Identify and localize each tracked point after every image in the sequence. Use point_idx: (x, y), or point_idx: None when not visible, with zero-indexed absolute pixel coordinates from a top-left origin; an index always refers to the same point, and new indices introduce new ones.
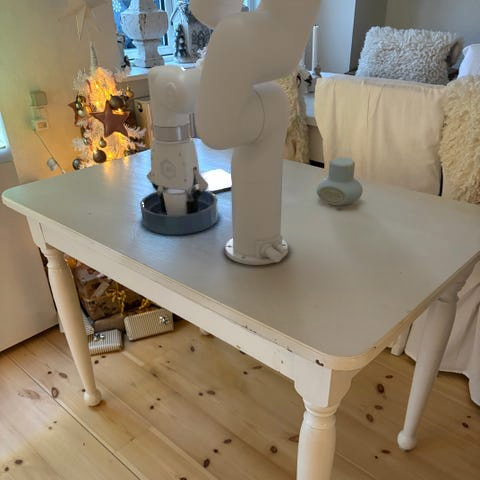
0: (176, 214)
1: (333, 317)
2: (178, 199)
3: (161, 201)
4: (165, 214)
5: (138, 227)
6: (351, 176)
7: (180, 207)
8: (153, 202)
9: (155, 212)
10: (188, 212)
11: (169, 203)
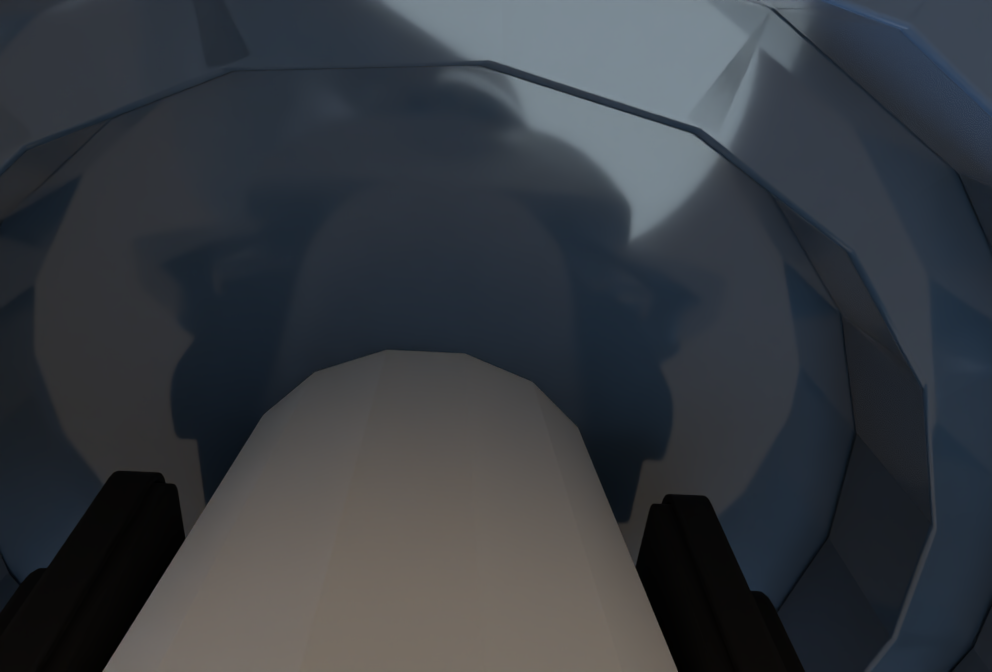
0: (324, 440)
1: None
2: None
3: (761, 659)
4: None
5: None
6: None
7: (194, 579)
8: (958, 667)
9: (846, 515)
10: (98, 542)
11: (433, 591)
